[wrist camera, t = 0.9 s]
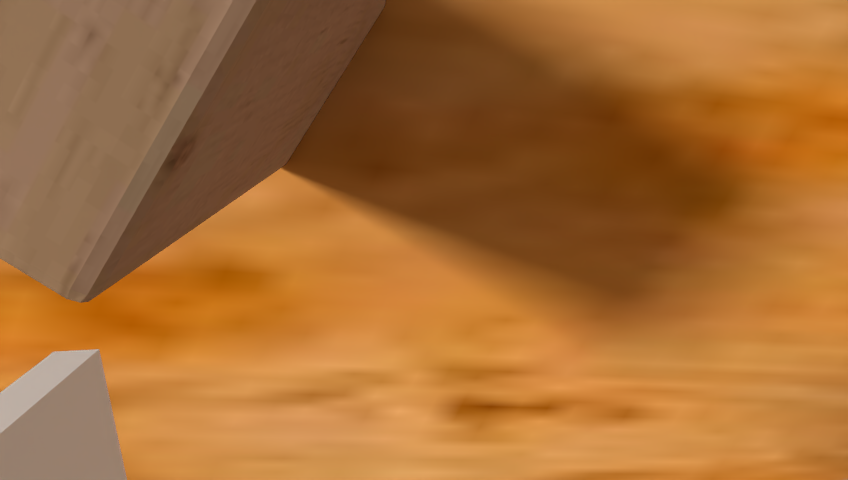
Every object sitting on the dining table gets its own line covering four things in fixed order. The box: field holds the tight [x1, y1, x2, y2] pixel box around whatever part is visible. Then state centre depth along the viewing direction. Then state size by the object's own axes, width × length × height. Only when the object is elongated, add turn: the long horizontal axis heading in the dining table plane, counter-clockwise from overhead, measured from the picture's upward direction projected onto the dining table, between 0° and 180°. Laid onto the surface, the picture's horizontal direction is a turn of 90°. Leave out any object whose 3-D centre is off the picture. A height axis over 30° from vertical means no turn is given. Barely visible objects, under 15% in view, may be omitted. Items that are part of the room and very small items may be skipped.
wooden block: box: [0, 0, 386, 302], centre depth 24 cm, size 10×10×20 cm
